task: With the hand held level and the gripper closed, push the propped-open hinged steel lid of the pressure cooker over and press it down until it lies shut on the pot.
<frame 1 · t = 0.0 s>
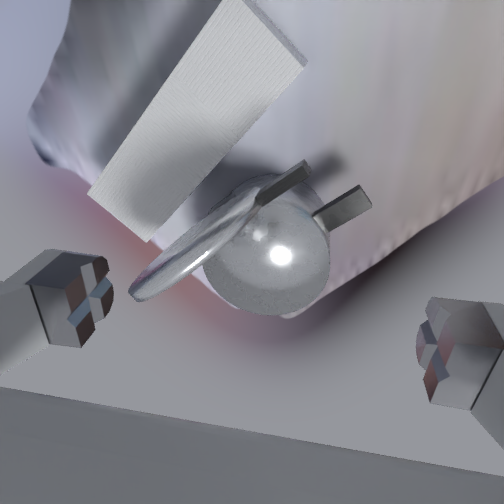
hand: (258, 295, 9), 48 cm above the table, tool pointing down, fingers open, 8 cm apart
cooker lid: (215, 229, 40), point 21 cm above the table, hinge at 93.8°, touching cooker pot
cooker pot: (274, 226, 62), on the table
grey rectangular block: (204, 121, 56), on the table
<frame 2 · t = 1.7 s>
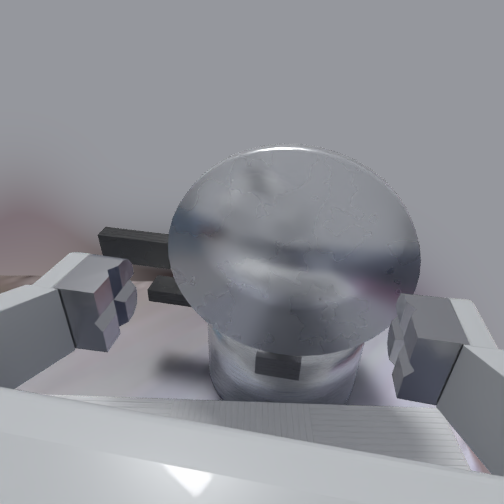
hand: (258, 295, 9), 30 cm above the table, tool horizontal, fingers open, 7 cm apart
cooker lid: (251, 262, 28), point 21 cm above the table, hinge at 93.8°, touching cooker pot
cooker pot: (281, 362, 47), on the table
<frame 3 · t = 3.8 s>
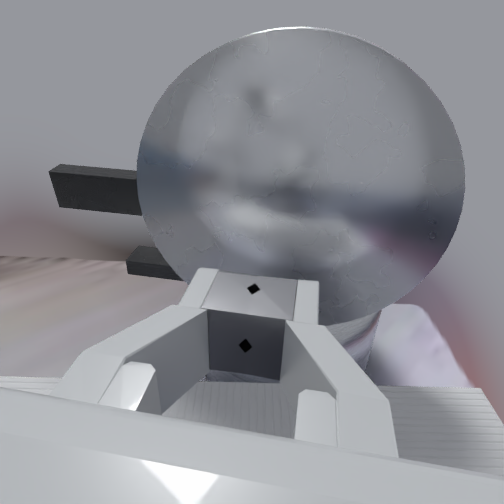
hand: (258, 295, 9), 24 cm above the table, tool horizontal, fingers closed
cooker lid: (242, 203, 22), point 21 cm above the table, hinge at 93.8°, touching cooker pot
cooker pot: (281, 345, 41), on the table
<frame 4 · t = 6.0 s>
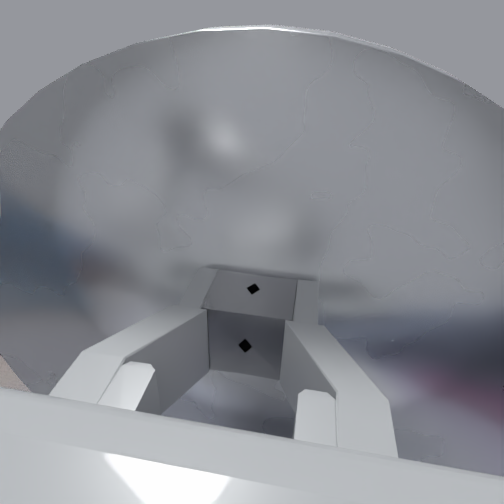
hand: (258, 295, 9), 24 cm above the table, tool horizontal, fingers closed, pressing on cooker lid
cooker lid: (171, 345, 12), point 21 cm above the table, hinge at 93.6°, touching gripper
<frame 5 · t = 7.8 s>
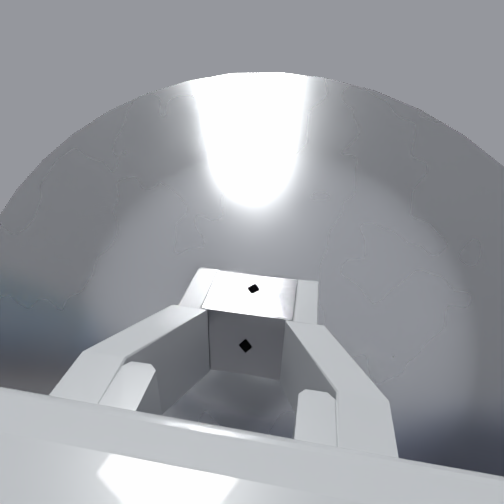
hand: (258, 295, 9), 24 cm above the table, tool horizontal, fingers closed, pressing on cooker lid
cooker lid: (158, 387, 11), point 20 cm above the table, hinge at 64.9°, touching gripper
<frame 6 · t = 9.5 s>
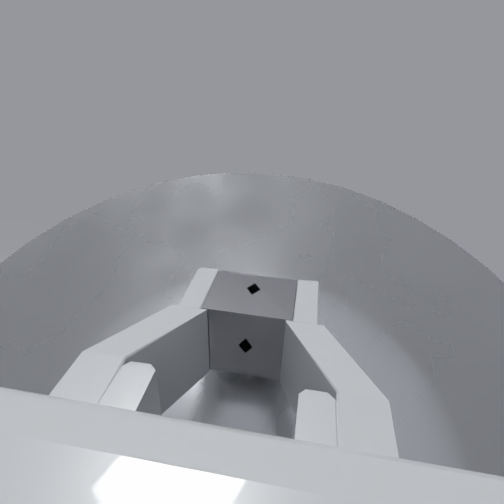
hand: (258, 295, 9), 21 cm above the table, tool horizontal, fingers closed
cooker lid: (110, 467, 9), point 17 cm above the table, hinge at 31.1°, touching gripper
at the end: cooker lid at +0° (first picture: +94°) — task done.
